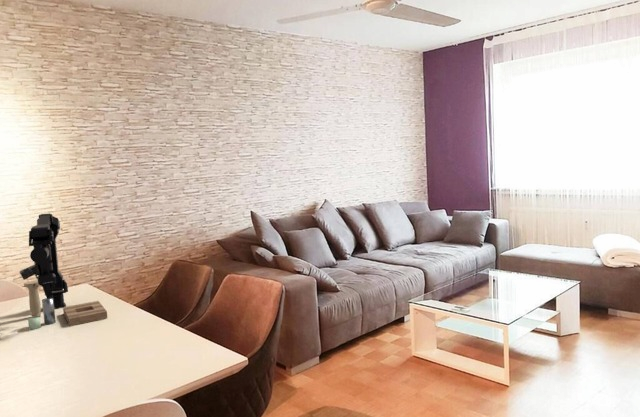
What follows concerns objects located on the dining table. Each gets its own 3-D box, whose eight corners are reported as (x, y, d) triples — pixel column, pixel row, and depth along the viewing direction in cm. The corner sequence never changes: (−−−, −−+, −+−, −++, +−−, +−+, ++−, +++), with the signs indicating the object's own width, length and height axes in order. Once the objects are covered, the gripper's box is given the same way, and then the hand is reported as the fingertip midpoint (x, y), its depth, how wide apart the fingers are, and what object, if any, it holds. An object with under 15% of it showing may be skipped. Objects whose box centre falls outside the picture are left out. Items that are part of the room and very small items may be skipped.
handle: (46, 315, 206) (42, 281, 205) (29, 319, 202) (25, 284, 200) (43, 313, 210) (39, 279, 208) (26, 317, 205) (22, 283, 204)
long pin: (44, 322, 197) (41, 299, 196) (55, 320, 199) (52, 297, 198) (44, 325, 194) (42, 301, 193) (56, 323, 196) (53, 299, 195)
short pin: (28, 328, 192) (27, 318, 191) (40, 325, 194) (39, 316, 193) (29, 330, 188) (28, 320, 188) (41, 328, 190) (40, 318, 190)
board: (63, 313, 208) (63, 307, 208) (98, 307, 216) (98, 300, 215) (69, 326, 191) (68, 318, 191) (107, 318, 199) (106, 311, 199)
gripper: (18, 257, 197) (22, 294, 199) (20, 264, 182) (25, 305, 183) (49, 253, 203) (53, 289, 205) (54, 260, 188) (58, 299, 189)
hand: (47, 295), depth 195 cm, fingers open, 9 cm apart
